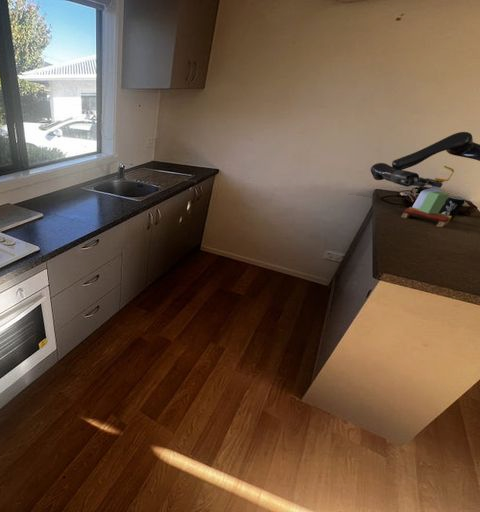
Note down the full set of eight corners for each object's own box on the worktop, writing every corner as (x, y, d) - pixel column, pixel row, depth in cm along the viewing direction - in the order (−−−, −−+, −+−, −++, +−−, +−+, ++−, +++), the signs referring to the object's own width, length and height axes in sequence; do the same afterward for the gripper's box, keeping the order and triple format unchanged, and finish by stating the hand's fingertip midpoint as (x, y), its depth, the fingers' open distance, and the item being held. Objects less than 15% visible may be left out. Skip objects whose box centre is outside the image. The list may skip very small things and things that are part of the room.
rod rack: (447, 224, 147) (452, 215, 145) (441, 227, 145) (447, 218, 142) (406, 215, 160) (411, 206, 157) (400, 217, 157) (405, 208, 155)
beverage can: (455, 222, 150) (470, 200, 144) (439, 220, 152) (453, 198, 146) (446, 217, 156) (460, 196, 150) (431, 216, 158) (444, 194, 152)
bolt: (429, 209, 171) (468, 216, 161) (431, 207, 167) (471, 214, 157) (435, 200, 170) (473, 206, 160) (436, 197, 167) (476, 203, 156)
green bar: (428, 210, 152) (439, 191, 147) (438, 213, 148) (449, 194, 143) (418, 210, 152) (429, 191, 147) (427, 213, 148) (438, 194, 143)
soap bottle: (412, 206, 172) (437, 164, 160) (434, 210, 166) (461, 167, 154) (410, 209, 167) (435, 166, 155) (432, 214, 161) (460, 169, 149)
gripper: (394, 171, 161) (422, 178, 147) (420, 171, 160) (451, 178, 146) (387, 184, 164) (414, 192, 150) (413, 184, 164) (442, 192, 150)
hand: (432, 185), depth 148 cm, fingers open, 8 cm apart
